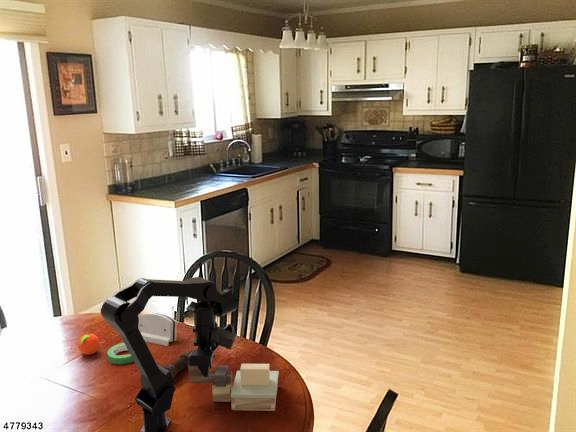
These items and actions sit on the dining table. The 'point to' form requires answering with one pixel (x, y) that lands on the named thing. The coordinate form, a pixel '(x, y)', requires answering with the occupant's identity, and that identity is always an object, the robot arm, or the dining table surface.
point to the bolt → (178, 364)
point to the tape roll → (119, 359)
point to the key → (198, 377)
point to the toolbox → (223, 394)
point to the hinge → (157, 328)
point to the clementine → (88, 344)
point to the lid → (255, 382)
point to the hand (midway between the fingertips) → (207, 372)
